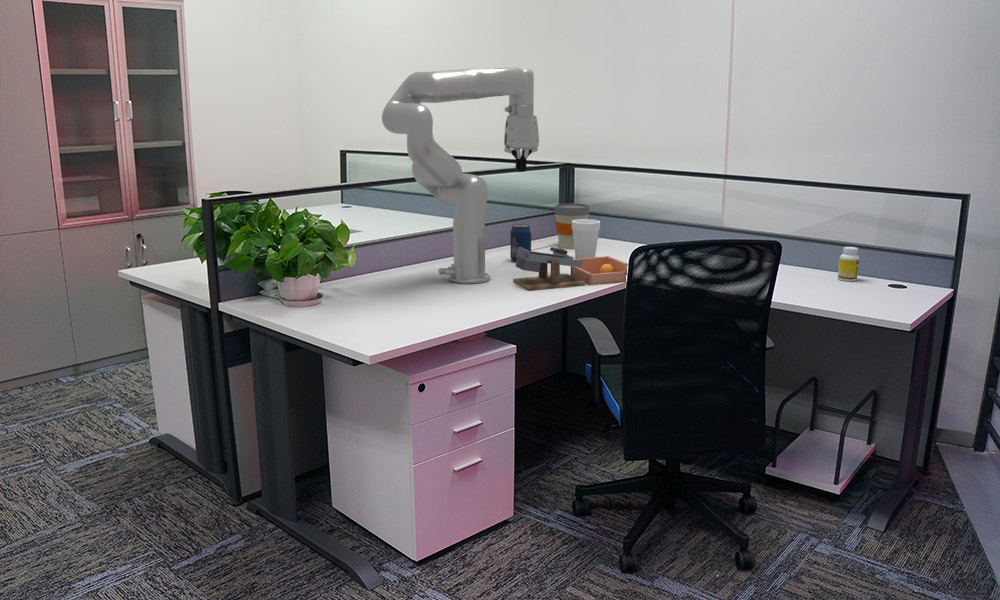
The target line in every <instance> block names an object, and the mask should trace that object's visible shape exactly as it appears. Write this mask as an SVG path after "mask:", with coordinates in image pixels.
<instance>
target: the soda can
mask: <svg viewBox="0 0 1000 600" xmlns="http://www.w3.org/2000/svg"><path fill="white" fill-rule="evenodd" d="M509 247H510V254H509V255H510V258H511V261H512V262H513V263H516V260H517V252H518V247H522V248H524V249H526V250H528V251H532V229H531V228H530V225H529V224H526V223H525V224H524V223H521V224H519V223H517V224H512V226H511V228H510V246H509Z"/></svg>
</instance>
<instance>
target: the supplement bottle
mask: <svg viewBox="0 0 1000 600" xmlns="http://www.w3.org/2000/svg"><path fill="white" fill-rule="evenodd" d="M858 252H859V247H856V246H844V247H843V253H842V254H841V255H839V262H838V263H839V265H838V272H837V279H838V280H840V281H842V282H843V281H844V282H856V281H857V280H858V273H859V266H860V265H859V263H860V256H859V255H858Z"/></svg>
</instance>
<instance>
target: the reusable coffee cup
mask: <svg viewBox="0 0 1000 600" xmlns="http://www.w3.org/2000/svg"><path fill="white" fill-rule="evenodd" d="M554 214H555V221H554V222H555V231H556V234H557V239H558V247H559V248H560V249H564V250H575V248H574V239H573V230H572V221H573V220H578V219H589V214H590V205H588V204H586V203H558V204H555V208H554Z"/></svg>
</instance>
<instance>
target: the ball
mask: <svg viewBox="0 0 1000 600" xmlns="http://www.w3.org/2000/svg"><path fill="white" fill-rule="evenodd" d="M613 271H614V270H613V267H612V266H611V265H610V264H604V265H603V266H602V267H601V269H600V272H601V273H610V272H613Z"/></svg>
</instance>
